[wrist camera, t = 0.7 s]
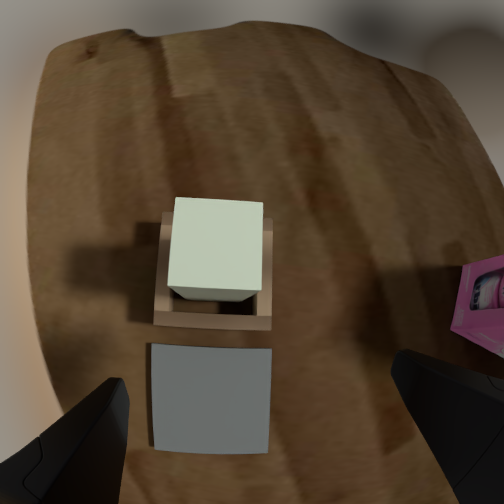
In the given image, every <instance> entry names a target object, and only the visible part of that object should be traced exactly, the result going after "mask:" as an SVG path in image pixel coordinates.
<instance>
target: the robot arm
mask: <svg viewBox="0 0 504 504" xmlns="http://www.w3.org/2000/svg"><path fill="white" fill-rule="evenodd" d="M391 376H392V378H393V380H394V382H395V384H396V386H397V389H398V391H399V393H400V395H401V397H402V399H403V401H404V404H405V406H406V408H407V409H408V411H409V413H410V414H411V416H412V418H413V420H414V421H415V423H416V425H417V426H418V428H419V430H420V432H421V433H422V435H423V437H424V438H425V440H426V442H427V444H428V445H429V447H430V449H431V451H432V453H433V454H434V456H435V458H436V460H437V462H438V463H439V465H440V467H441V469H442V471H443V473H444V474H445V476H446V478H447V480H448V482H449V484H450V486H451V488H452V489H453V492H454V494H455V496H456V498H457V500H458V501H459V503H460V504H504V380H502V379H498V378H495V377H491V376H488V375H487V376H486V375H485V374H482V373H478V372H475V371H472V370H469V369H466V368H463V367H460V366H457V365H454V364H451V363H448V362H445V361H442V360H439V359H436V358H433V357H430V356H427V355H424V354H421V353H418V352H415V351H413V350H410V349H403V350H399V351H397V352H396V354H395V357H394V361H393V364H392V367H391ZM129 405H130V402H129V396H128V393H127V390H126V387H125V383H124V381H123V379H122V378H115V377H110V378H108V379H107V380H106V381H104V382H103V383H102V384H101V385H100V386H98V387H97V388H96V389H95V390H94V391H92V392H91V393H90V394H89V395H88V396H86V397H85V398H84V399H83V400H81V401H80V402H79V403H78V404H77V405H75V406H74V407H73V408H72V409H71V410H69V411H68V412H67V413H66V414H64V415H63V416H62V417H61V418H60V419H58V420H57V421H56V422H55V423H54V424H52V425H51V426H50V427H49V428H48V429H46V430H45V431H44V432H43V433H41V434H40V436H39V437H36V438H35V439H34V440H33V441H31V442H30V443H29V444H28V445H26V446H25V447H24V448H22V449H21V450H20V451H18V452H17V453H15V454H14V455H12V456H11V457H9V458H8V459H6V460H5V461H3V462H2V463H0V504H118V502H119V494H120V486H121V479H122V473H123V466H124V460H125V454H126V448H127V436H128V418H129Z"/></svg>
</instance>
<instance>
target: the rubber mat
mask: <svg viewBox="0 0 504 504" xmlns="http://www.w3.org/2000/svg"><path fill="white" fill-rule="evenodd" d="M271 357H272V349H271V348H226V347H202V346H185V345H171V344H159V343H152V354H151V377H152V414H153V432H154V446H155V450H164V451H174V452H186V453H204V454H254V453H268V438H269V415H270V389H271Z"/></svg>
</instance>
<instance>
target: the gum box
mask: <svg viewBox="0 0 504 504" xmlns="http://www.w3.org/2000/svg"><path fill="white" fill-rule="evenodd" d="M450 330H451V331H453V332H455V333H457V334H459V335H461V336H463V337H465V338H467V339H468V340H470V341H472V342H474V343H476V344H478V345H480V346H482V347H484V348H485V349H487V350H489V351H491V352H493V353H495V354H497V355H499V356H500V357H502V358H504V255H500V256H497V257H493V258H489V259H486V260H482V261H478V262H474V263H471V264H467V265H463V269H462V275H461V281H460V286H459V291H458V296H457V301H456V306H455V311H454V316H453V320H452V324H451V328H450Z"/></svg>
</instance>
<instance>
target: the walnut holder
mask: <svg viewBox="0 0 504 504" xmlns="http://www.w3.org/2000/svg"><path fill="white" fill-rule="evenodd" d="M173 217H174V212H163V214H162V222H161V231H160V240H159V250H158V261H157V273H156V287H155V303H154V325H161V326H174V327H189V328H207V329H232V330H271V312H272V236H273V218H263V232H262V287H261V291H259V292H257V293H256V294H254V295H252V315H224V314H203V313H186V312H173V304H174V290H173V289H171V288H170V287H169V286H168V271H169V258H170V247H171V236H172V226H173Z"/></svg>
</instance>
